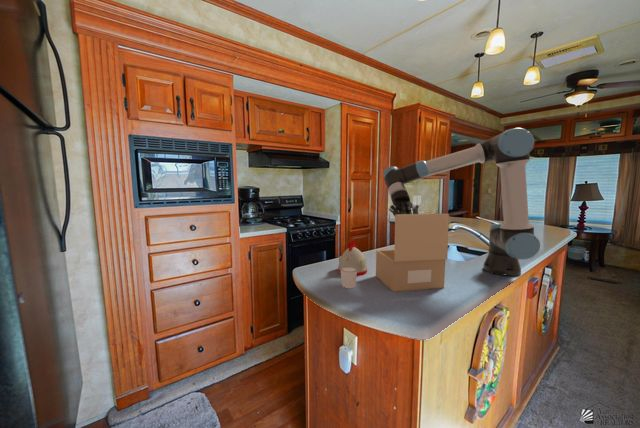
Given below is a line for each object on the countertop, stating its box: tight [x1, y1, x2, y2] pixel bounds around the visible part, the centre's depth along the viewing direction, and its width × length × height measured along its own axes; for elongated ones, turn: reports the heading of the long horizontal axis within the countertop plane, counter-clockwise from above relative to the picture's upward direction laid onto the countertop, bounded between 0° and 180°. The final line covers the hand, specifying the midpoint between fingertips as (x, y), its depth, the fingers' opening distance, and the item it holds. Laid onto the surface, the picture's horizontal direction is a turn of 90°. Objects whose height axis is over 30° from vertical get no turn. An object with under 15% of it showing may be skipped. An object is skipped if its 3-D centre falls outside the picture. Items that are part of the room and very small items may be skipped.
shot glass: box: [340, 267, 358, 289], centre depth 109 cm, size 7×7×7 cm
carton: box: [375, 249, 446, 293], centre depth 113 cm, size 18×22×12 cm
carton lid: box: [394, 213, 450, 262], centre depth 103 cm, size 18×22×1 cm
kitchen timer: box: [337, 240, 368, 277], centre depth 127 cm, size 14×14×15 cm
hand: (415, 239), depth 104 cm, fingers closed
